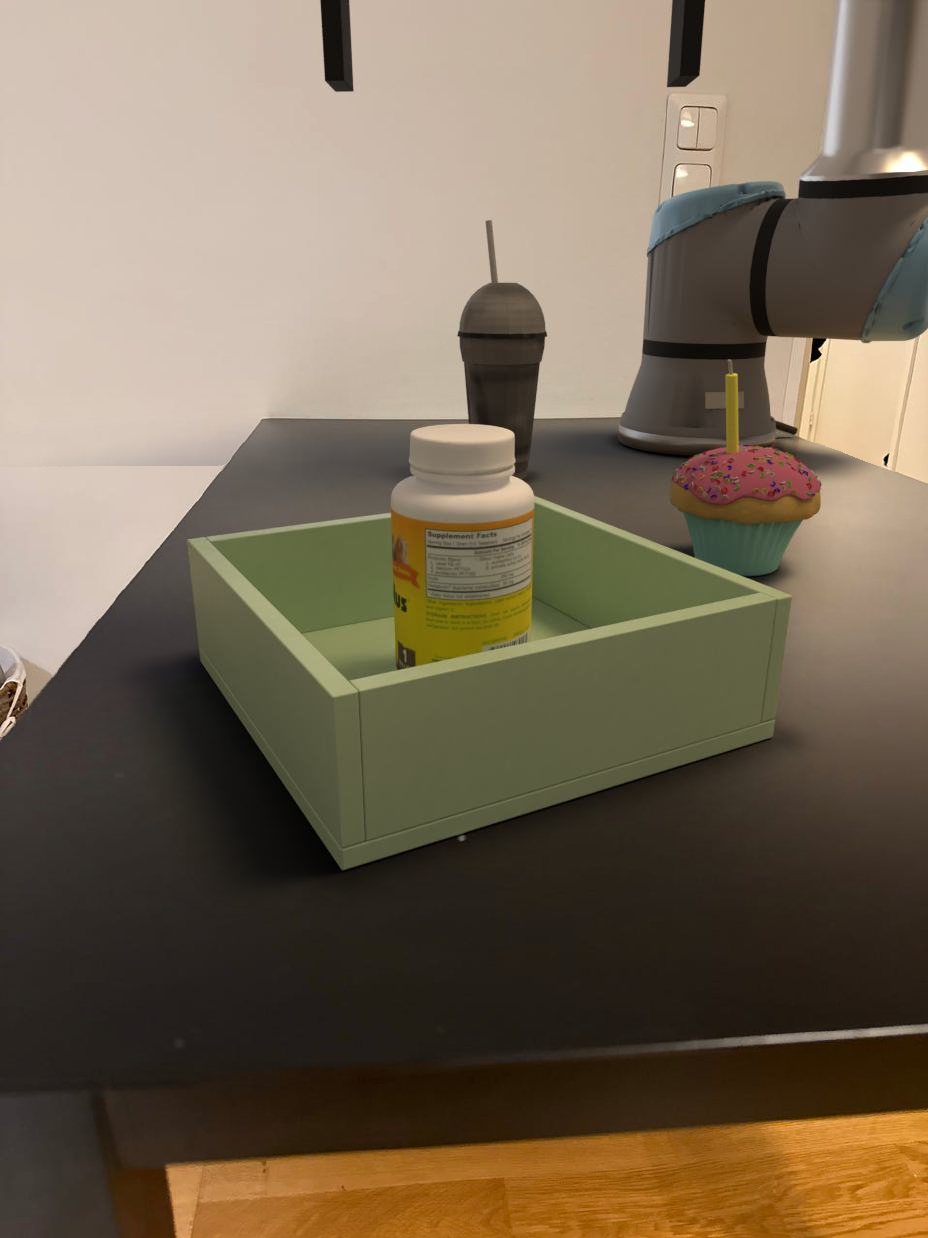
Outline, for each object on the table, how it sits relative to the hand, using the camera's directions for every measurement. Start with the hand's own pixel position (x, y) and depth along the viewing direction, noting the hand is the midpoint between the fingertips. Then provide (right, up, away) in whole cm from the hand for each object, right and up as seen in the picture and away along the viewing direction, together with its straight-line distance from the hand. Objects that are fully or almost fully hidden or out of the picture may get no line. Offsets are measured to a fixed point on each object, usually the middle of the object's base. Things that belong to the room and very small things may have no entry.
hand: (510, 85), depth 37 cm
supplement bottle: (-2, -24, +2) cm, 24 cm away
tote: (-2, -24, +2) cm, 25 cm away
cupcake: (+14, -18, +19) cm, 30 cm away
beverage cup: (+1, -9, +42) cm, 43 cm away
